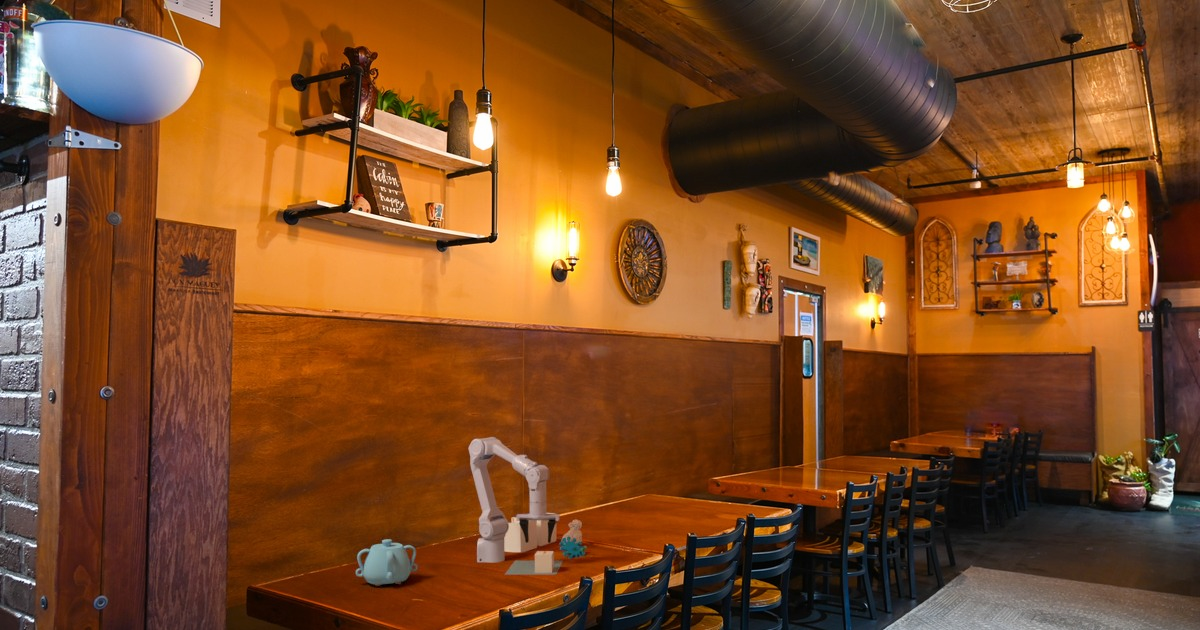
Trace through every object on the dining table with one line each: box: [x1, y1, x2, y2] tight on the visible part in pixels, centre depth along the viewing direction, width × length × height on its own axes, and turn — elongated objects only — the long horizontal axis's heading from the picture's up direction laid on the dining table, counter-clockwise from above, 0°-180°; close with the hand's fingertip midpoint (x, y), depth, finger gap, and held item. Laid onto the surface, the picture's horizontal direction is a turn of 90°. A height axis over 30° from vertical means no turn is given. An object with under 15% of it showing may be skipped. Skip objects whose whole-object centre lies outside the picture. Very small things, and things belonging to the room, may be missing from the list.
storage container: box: [504, 512, 557, 553], centre depth 324 cm, size 25×11×11 cm, turn 151°
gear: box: [558, 536, 588, 560], centre depth 300 cm, size 11×6×10 cm
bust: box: [560, 518, 583, 547], centre depth 321 cm, size 12×8×11 cm
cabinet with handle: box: [534, 550, 555, 573], centre depth 276 cm, size 6×6×6 cm
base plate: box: [504, 560, 564, 576], centre depth 282 cm, size 17×20×1 cm
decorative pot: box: [355, 538, 419, 586], centre depth 270 cm, size 16×16×14 cm
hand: (538, 542), depth 284 cm, fingers open, 7 cm apart
